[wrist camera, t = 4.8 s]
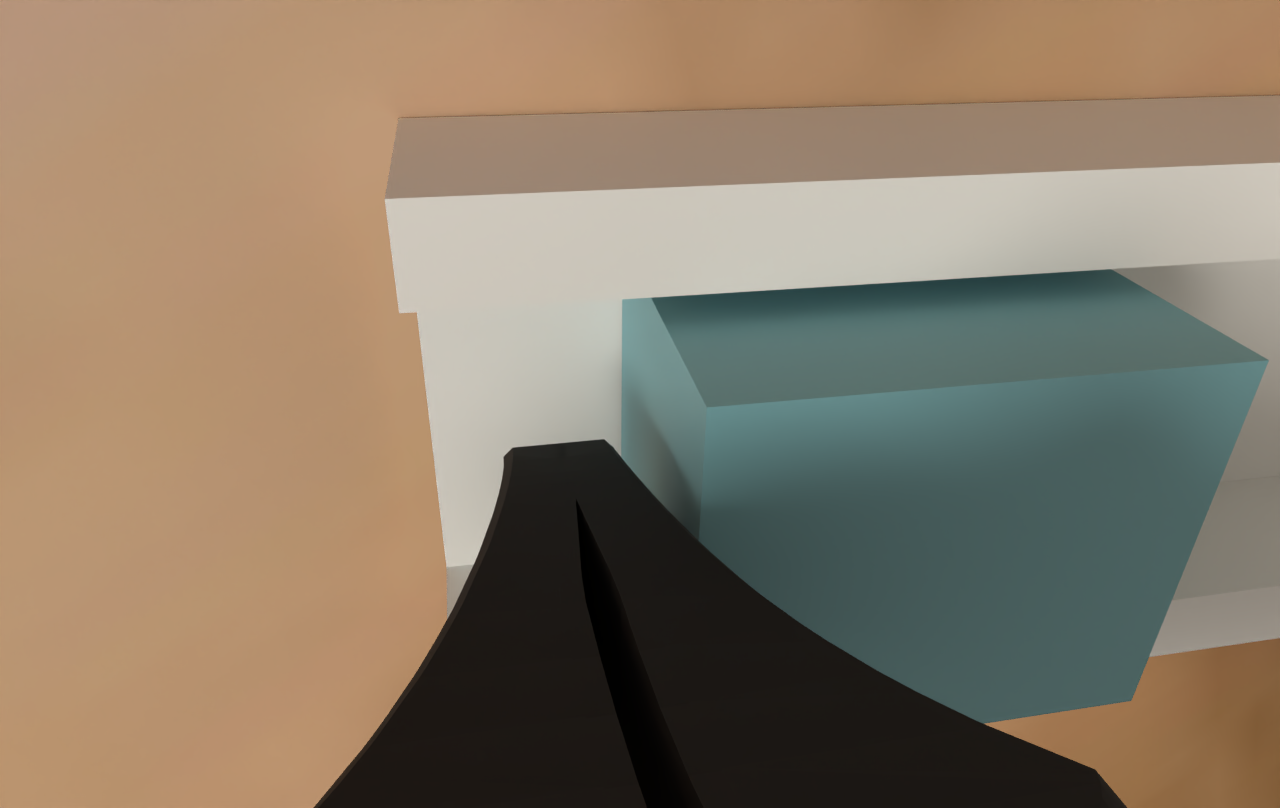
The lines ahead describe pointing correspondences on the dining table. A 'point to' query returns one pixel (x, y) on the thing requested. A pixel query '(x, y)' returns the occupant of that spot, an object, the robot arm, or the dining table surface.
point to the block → (946, 467)
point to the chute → (827, 263)
